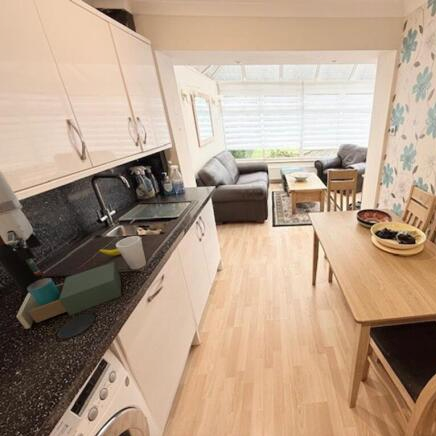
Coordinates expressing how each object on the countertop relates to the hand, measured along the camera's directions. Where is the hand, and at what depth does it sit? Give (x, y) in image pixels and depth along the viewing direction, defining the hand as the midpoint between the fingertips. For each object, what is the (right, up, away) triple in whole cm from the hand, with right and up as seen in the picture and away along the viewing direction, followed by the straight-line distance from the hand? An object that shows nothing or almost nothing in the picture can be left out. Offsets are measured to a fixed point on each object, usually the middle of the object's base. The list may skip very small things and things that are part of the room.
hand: (32, 252), depth 82 cm
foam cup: (+18, -10, +29) cm, 36 cm away
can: (+2, -20, +5) cm, 21 cm away
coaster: (+17, -25, -1) cm, 30 cm away
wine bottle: (-17, -18, +18) cm, 31 cm away
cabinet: (+12, -18, +12) cm, 25 cm away
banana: (+4, -6, +40) cm, 41 cm away
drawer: (+2, -21, +6) cm, 22 cm away
